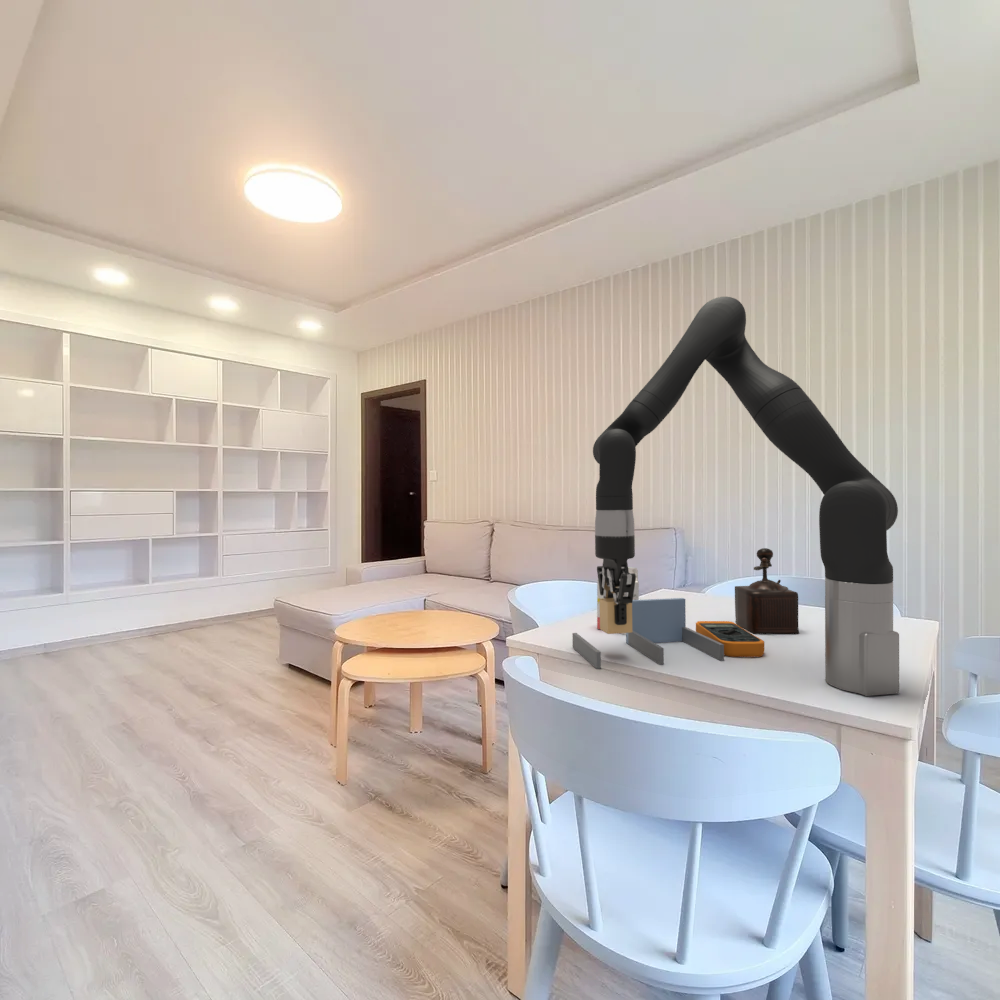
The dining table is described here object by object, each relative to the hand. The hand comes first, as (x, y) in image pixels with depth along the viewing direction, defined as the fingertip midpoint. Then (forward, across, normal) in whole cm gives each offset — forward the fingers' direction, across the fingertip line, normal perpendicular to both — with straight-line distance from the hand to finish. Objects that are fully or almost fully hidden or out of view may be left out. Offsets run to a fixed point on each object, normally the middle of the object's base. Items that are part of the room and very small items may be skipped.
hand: (615, 621), depth 104 cm
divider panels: (+7, 0, -6) cm, 9 cm away
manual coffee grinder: (+7, +16, -43) cm, 47 cm away
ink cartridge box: (+7, +19, -8) cm, 22 cm away
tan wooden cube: (+2, 0, 0) cm, 2 cm away
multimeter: (+7, +3, -26) cm, 27 cm away
